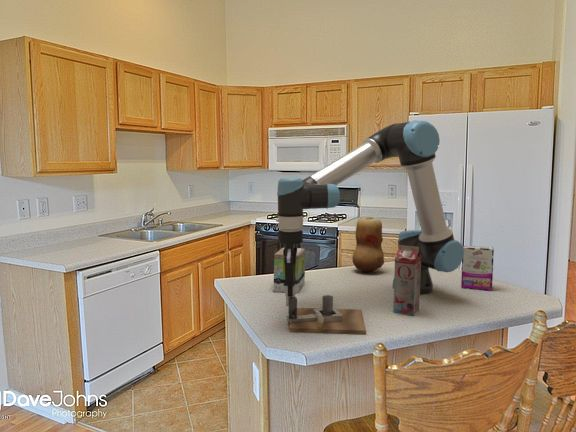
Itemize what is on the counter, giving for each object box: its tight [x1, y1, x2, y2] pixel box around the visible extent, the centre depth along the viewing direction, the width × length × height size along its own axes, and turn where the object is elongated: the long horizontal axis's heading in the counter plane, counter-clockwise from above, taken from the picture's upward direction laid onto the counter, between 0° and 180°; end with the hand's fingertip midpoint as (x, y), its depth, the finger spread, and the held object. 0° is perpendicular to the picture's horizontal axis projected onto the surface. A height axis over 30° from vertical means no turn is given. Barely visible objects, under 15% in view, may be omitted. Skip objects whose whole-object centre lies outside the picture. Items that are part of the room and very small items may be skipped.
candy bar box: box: [460, 245, 495, 292], centre depth 169 cm, size 11×5×16 cm, turn 68°
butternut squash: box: [352, 216, 385, 273], centre depth 194 cm, size 14×13×25 cm
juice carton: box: [392, 245, 421, 317], centre depth 142 cm, size 7×7×22 cm
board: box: [288, 294, 367, 335], centre depth 133 cm, size 22×18×8 cm
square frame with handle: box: [286, 296, 343, 324], centre depth 132 cm, size 16×7×7 cm, turn 102°
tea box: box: [273, 247, 306, 294], centre depth 171 cm, size 15×10×15 cm
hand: (290, 305), depth 133 cm, fingers closed
